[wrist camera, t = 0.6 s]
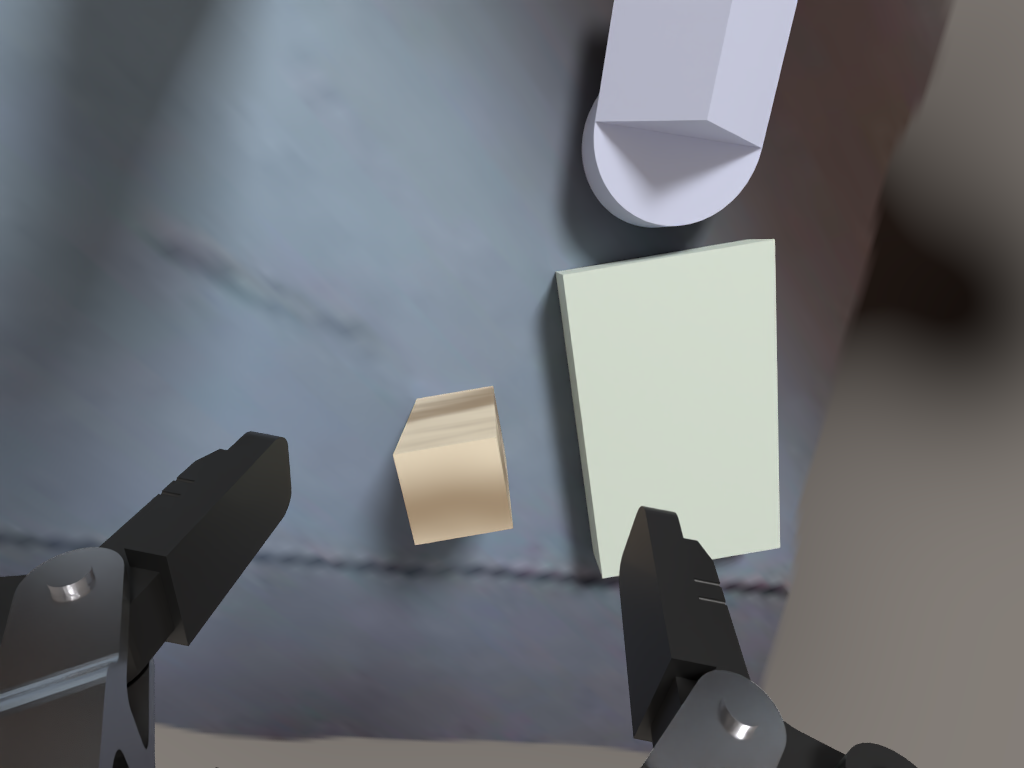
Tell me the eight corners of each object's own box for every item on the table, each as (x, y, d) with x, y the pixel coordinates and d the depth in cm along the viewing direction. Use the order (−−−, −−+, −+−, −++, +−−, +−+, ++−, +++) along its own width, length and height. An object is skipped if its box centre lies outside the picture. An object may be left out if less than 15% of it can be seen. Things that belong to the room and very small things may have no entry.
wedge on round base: (609, -39, 27) (570, 216, 30) (648, -127, 21) (593, 209, 24) (769, -9, 28) (714, 237, 31) (856, -85, 21) (774, 235, 25)
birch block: (416, 398, 33) (393, 454, 24) (493, 385, 33) (496, 437, 24) (432, 468, 34) (415, 545, 26) (505, 456, 34) (513, 528, 26)
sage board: (555, 271, 31) (562, 274, 28) (747, 239, 31) (774, 239, 28) (593, 551, 37) (602, 578, 34) (756, 523, 37) (779, 547, 34)
